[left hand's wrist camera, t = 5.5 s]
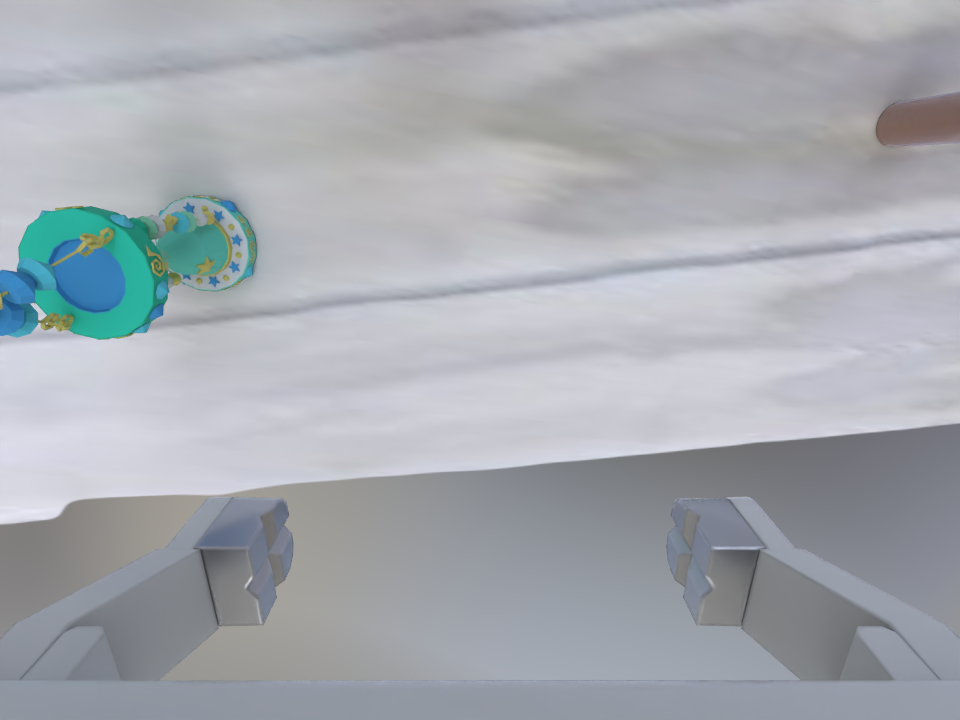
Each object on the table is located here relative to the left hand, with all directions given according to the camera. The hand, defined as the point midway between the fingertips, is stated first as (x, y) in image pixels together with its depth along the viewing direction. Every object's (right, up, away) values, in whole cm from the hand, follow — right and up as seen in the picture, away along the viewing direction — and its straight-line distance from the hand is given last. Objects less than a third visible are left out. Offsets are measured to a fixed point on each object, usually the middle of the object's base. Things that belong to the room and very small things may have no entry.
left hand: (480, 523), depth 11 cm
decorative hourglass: (-29, +16, +45) cm, 56 cm away
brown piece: (+42, +27, +41) cm, 65 cm away
